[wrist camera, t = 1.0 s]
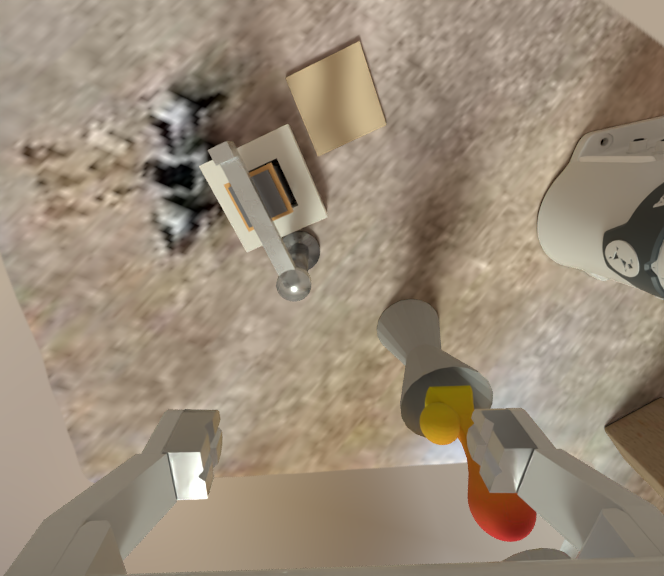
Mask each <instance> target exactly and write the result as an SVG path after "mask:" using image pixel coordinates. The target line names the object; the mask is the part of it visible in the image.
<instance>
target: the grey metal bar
mask: <svg viewBox="0 0 664 576" xmlns="http://www.w3.org/2000/svg"><path fill="white" fill-rule="evenodd" d="M208 152H209V154H210V156H211V157H212V159H213V161H214V163H215V165H216V166H218V165H220V166H221V167H222V169H223V171H224V173H225V175H226V177H227V179H228V181H229V183H230V184H231V186H232V188H233V190H234V192H235V194H236V196H237V198H238V200H239V201H240V203H241V205H242V207H243V209H244V211H245V213H246V215H247V217H248V218H249V220H250V222H251V224H252V226H253V228H254V230H255V232H256V233H257V235H258V237H259V239H260V241H261V243H262V245H263V247H264V249H265V250H266V252H267V254H268V256H269V258H270V260H271V262H272V264H273V266H274V267H275V269H276V271H277V273H278V275H279V276H278V279H277V283H276V287H277V291H278V293H279V294H280V295H281V296H282V297H283V298H284V299H286V300H289V301H300V300H302V299H304V298H305V297H306V296H307V295H308V294H309V292H310V290H311V278H310V275H309V273H308V272H307V271H306V270H305V269H303V268H301V267H298V266H295V264H294V262H293V260H292V258H291V256H290V254H289V252H288V250H287V248H286V246H285V244H284V242H283V240H282V238H281V236H280V234H279V232H278V230H277V228H276V226H275V224H274V222H273V220H272V218H271V216H270V214H269V212H268V210H267V208H266V206H265V204H264V202H263V200H262V198H261V196H260V194H259V192H258V190H257V188H256V186H255V184H254V182H253V180H252V178H251V176H250V174H249V172H248V170H247V168H246V166H245V164H244V162H243V160H242V158H241V156H240V154H239V152H238V150H237V148H236V146H235V144H234V142H233V141H226V142H223V143H221V144H219V145H217V146H215V147H213V148H211V149H209V150H208Z"/></svg>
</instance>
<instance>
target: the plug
mask: <svg viewBox="0 0 664 576" xmlns="http://www.w3.org/2000/svg"><path fill="white" fill-rule="evenodd" d="M249 174H250V176H251V178H252V180H253V182H254V184H255V186H256V188H257V190H258V192H259V194H260V196H261V198H262V200H263V202H264V204H265V206H266V208H267V210H268V212H269V214H270V216H271V218H272V220H273V221H274V220H277V219H279V218H281V217H283V216H286V215H288V214H290V213H292V212H294V210H293V208H292V206H291V202H292V199H293V198H292V195H291V193H290V191H289V189H288V187H287V185H286V182H285V180H284V178H283V176H282V174H281V172H280V169H279V167H278V165H276V166H273V165H272V163H269V164H267V165H265V166H263V167H261V168H258V169H256V170H254V171H252V172H250V173H249ZM224 187H225V189H226V190H227V192H228V194H229V196H230V198H231V200H232V202H233V203H234V205H235V207H236V209H237V211H238V213H239V215H240V216H241V218H242V220H243V222H244V224H245V226H246V228H247V229H248V231H249V232H250V231H252V230H254V228H253V226H252V224H251V222H250V220H249V218H248V217H247V215H246V213H245V211H244V209H243V207H242V205H241V203H240V201H239V200H238V198H237V196H236V194H235V192H234V190H233V188H232V186H231V184H230V183H226V184H224Z"/></svg>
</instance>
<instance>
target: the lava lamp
mask: <svg viewBox="0 0 664 576" xmlns="http://www.w3.org/2000/svg"><path fill="white" fill-rule="evenodd" d="M377 334H378V338H379V340H380V341H381V343H382V345H384V346H385V347H386V348H387V349H388V350H389V351H390V352H391V353H392V354H393V355H394V356H395V357H397V358H398V359H399V360H400V361H401V362H402V363H403V364H404V365H405V373H404V380H403V387H402V394H401V401H400V406H401V415H402V419H403V421H404V422H405V424H406V426H407V427H408V428H409V429H410V430H412V431H413V432H414V433H416V434H418V435H420V436H423V437H426V438H427V439H428V440H430V441H431V442H433V443H435V444H438V445H446V444H450V443H452V442H453V441H455V440H456V439H457V437H458V439H459V440H460V442H461V443H462V446H463V449H464V451H465V454H466V457H467V463H468V471H469V479H468V504H469V507H470V511H471V513H472V515H473V517H474V519H475V521H476V522H477V523H478V525H479V526H480V527H481V528H482V529H483V530H484V531H486V533H488V534H489V535H491V536H492V537H494V538H496V539H499V540H502V541H509V542H512V541H518V540H521V539H523V538H525V537H526V536H527V535H529V534H530V532H531V531H532V529H533V527H534V525H535V522H536V511H535V510H533V509H532V508H531V507H530V506H529V505H528V504H527V503H526V502H525V501H524V500H523V499H521V498H520V497H519V496H518V495H517V494H518V493H490V492H489V490H488V488H487V486H486V485H485V483H484V481H483V479H482V477H481V475H480V473H479V472H480V468H481V466H480V465H479V464H478V463H476V462H475V461H474V460H473V459H472V457H471V455H470V453H469V450H468V446H467V433H468V429H469V428H470V427H471V426H472V425H473V424H474V422H473V420H472V419H471V417H472V414H473V411H474V410H475V409H490V408H491V405H492V400H493V391H492V389H491V386H490V384H489V382H488V381H487V380H486V379H485V378H484V377H483V376H482V375H481V374H480V373H479V372H478V371H477V370H475V369H473V368H472V367H470V366H468V365H466V364H465V363H463V362H461V361H460V360H458V359H456V358H454V357H453V356H451V355H449V354H448V353H446V352H444V351H442V350H441V340H440V327H439V318H438V315H437V313H436V311H435V310H434V309H433V308H432V307H431V306H430V305H429V304H428V303H426V302H423V301H421V300H415V299H408V300H402V301H399V302H397V303H395V304H393V305H391V306H390V307H389V308H387V309H386V310H385V311H384V312H383V314H382V315H381V317H380V319H379V321H378V325H377ZM561 559H571V557H570V556H568V555H567V554H566V553H564V552H562V551H559V550H555V549H548V548H539V549H532V550H526V551H523V552H520V553H517V554H514V555H512V556H510V557H508V558H507V559H505V560H503V561H531V560H561Z"/></svg>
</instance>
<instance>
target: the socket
mask: <svg viewBox="0 0 664 576" xmlns="http://www.w3.org/2000/svg"><path fill="white" fill-rule="evenodd" d="M237 150H238V152H239V154H240V156H241V158H242V160H243V162H244V164H245V166H246V168H247V170H248V172H249V171H251V170H253V169H255V168H258V167H260V166H262V165H264V164H266V163H268V162H270V161H272V160H275V159H277V160H278V162H279V164H280V166H281V169H282V171H283V173H284V175H285V177H286V179H287V182H288V184H289V186H290V188H291V190H292V192H293V195H294V197H295V199H296V201H297V203H295V204H293V205H291V206H292V208H293V210H294V212H292V213H290V214H288V215H286V216H283V217H281V218H279V219H277V220H274V221H273V222H274V224H275V226H276V228H277V230H278V232H279V234H280V236H281V237H283V236H286V235H288V234H290V233H292V232H295V231H297V230H299V229H302V228H304V227H306V226H308V225H311V224H313V223H315V222H318V221H320V220H322V219H325V218H327V217H328V216H327V211H326V209H325V206H324V204H323V202H322V199H321V197H320V195H319V192H318V190H317V188H316V185H315V183H314V181H313V178H312V176H311V174H310V171H309V169H308V167H307V164H306V162H305V160H304V157H303V155H302V153H301V150H300V148H299V146H298V143H297V141H296V139H295V136H294V134H293V132H292V129H291V127H290V125H288V124H286V125H284V126H282V127H280V128H278V129H276V130H274V131H272V132H269V133H267V134H265V135H263V136H261V137H259V138H257V139H255V140H253V141H251V142H249V143H247V144H244V145H242V146H240V147H238V148H237ZM199 167H200V169H201V171H202V172H203V174H204V176H205V178H206V180H207V181H208V183H209V185H210V187H211V189H212V191H213V192H214V194H215V196H216V198H217V200H218V201H219V203H220V205H221V207H222V209H223V210H224V212H225V214H226V216H227V218H228V219H229V221H230V223H231V225H232V227H233V228H234V230H235V232H236V234H237V236H238V237H239V239H240V241H241V243H242V245H243V246H244V248H245V250H246V252H249V251H251V250H254V249H256V248H258V247H260V246H263V245H262V243H261V241H260V239H259V237H258V235H257V233H256V232H255V230H252V231H250V232H249V231H248V229H247V228H246V226H245V224H244V222H243V220H242V218H241V216H240V215H239V213H238V211H237V209H236V207H235V205H234V203H233V202H232V200H231V198H230V196H229V194H228V192H227V190H226V189H225V187H224V184H226V183H229V181H228V179H227V177H226V175H225V173H224V171H223V169H222V167H221V166H220V165H218V166H216V165H215V163H214V161H213V160H211V161H209V162H207V163H205V164H203V165H201V166H199Z"/></svg>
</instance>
